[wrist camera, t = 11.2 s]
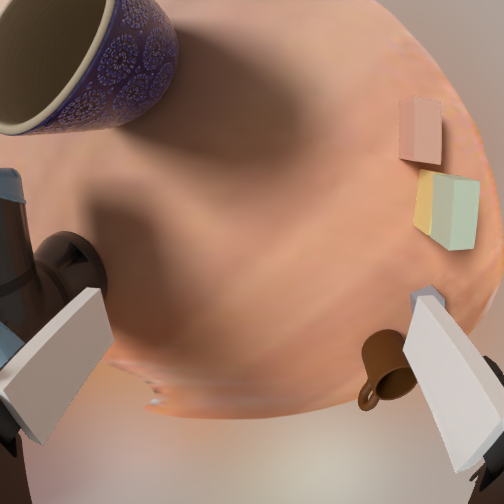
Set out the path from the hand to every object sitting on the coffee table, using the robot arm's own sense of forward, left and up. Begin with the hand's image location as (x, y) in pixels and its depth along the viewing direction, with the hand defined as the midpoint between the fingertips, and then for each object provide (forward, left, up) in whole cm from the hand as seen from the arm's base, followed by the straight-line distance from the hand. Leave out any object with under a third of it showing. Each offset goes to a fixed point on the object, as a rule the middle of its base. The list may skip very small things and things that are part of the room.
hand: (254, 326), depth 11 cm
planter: (-19, +19, -29) cm, 39 cm away
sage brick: (+22, +1, -24) cm, 32 cm away
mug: (+18, -26, -29) cm, 43 cm away
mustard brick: (+22, +1, -29) cm, 36 cm away
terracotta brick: (+19, +10, -29) cm, 36 cm away
